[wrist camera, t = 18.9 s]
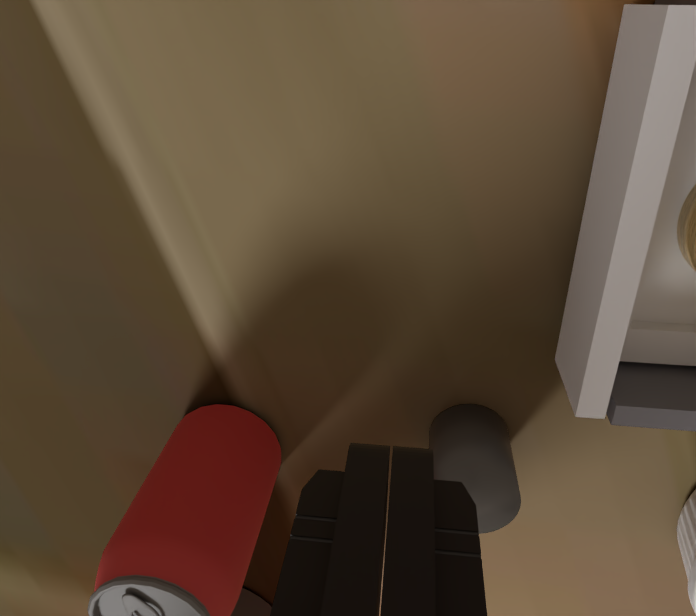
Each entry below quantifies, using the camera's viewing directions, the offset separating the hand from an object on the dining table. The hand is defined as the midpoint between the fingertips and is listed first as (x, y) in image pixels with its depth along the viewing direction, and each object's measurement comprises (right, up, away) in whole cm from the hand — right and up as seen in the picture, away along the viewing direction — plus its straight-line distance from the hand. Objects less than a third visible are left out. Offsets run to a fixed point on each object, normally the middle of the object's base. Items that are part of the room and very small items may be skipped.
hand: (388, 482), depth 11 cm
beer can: (-8, -5, +25) cm, 27 cm away
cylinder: (+6, -4, +23) cm, 24 cm away
